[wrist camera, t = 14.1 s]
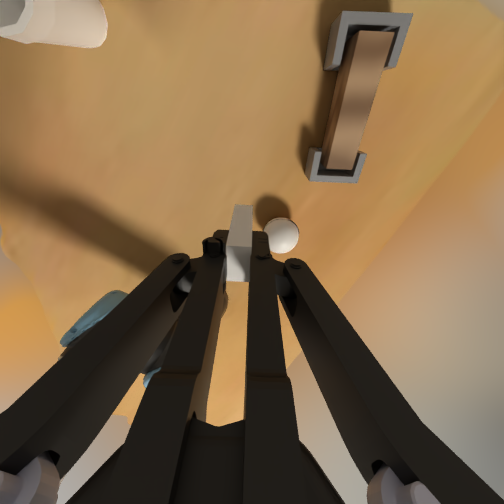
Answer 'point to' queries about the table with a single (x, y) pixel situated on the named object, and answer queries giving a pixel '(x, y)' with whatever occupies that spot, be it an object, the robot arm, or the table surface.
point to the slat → (354, 96)
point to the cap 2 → (366, 21)
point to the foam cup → (54, 22)
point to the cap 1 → (322, 174)
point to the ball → (281, 234)
